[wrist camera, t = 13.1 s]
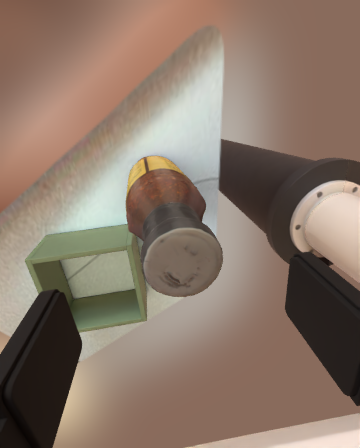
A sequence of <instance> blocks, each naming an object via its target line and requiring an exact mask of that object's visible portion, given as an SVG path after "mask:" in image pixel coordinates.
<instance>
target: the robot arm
mask: <svg viewBox="0 0 360 448" xmlns="http://www.w3.org/2000/svg"><path fill="white" fill-rule="evenodd" d="M290 236H291V240H292V242H293V243H294V245H295V246H296V247H297V248H298V249H299V250H300V251H301V252H303V253H297V254H295V255H294V257H293V258H291V259H290V266H289V275H288V285H287V294H286V303H285V310H286V313H287V315H288V317H289V318H290V320H291V321H292V322H293V324H294V325H295V326H296V328H297V329H298V331H299V332H300V334H302V336H303V338H304V339H305V340H306V342H307V343H308V345H309V346H310V347H311V349H312V350H313V352H314V353H315V354H316V356H317V357H318V359H319V360H320V361H321V363H322V364H323V366H324V367H325V368H326V370H327V371H328V373H329V374H330V375H331V377H332V378H333V380H334V381H335V382H336V384H337V385H338V387H339V388H340V389H341V391H342V392H343V393H344V394H345V395H347V396H350V397H351V399H352V400H353V401H354V403H355V404H356V405H357V406H360V291H359V290H357V289H356V288H355V287H354V286H352V285H351V284H350V283H349V282H347V281H346V280H345V279H343V278H342V277H341V276H340V275H339V274H337V273H336V272H335V271H334V270H332V269H331V268H330V267H329V266H327V265H326V264H325V263H324V262H322V261H321V260H320V259H319V258H317V257H326V258H327V259H328V260H330V261H331V262H332V263H334V264H335V265H336V266H338V267H339V268H340V269H342V270H343V271H345V272H346V273H347V274H348V275H350V276H351V277H352V278H354V279H355V280H356V281H358V282H359V283H360V186H359V185H357V184H355V183H353V182H349V181H344V180H336V181H330V182H327V183H324V184H322V185H320V186H318V187H316V188H314V189H313V190H312V191H310V192H309V193H308V194H307V195H306V196H305V197H304V198H303V199H302V200H301V201H300V203H299V204H298V205H297V207H296V209H295V211H294V213H293V215H292V218H291V222H290ZM81 350H82V340H81V337H80V335H79V332H78V329H77V326H76V324H75V321H74V318H73V315H72V313H71V310H70V307H69V304H68V301H67V299H66V296H65V294H64V292H60V291H59V290H58V289H53V290H47V291H42V292H40V293H39V295H38V296H37V298H36V299H35V301H34V303H33V304H32V306H31V307H30V309H29V310H28V312H27V313H26V315H25V317H24V318H23V320H22V321H21V323H20V324H19V326H18V327H17V329H16V331H15V332H14V334H13V335H12V337H11V338H10V340H9V342H8V343H7V345H6V346H5V348H4V349H3V351H2V352H1V354H0V448H52V447H53V444H54V441H55V437H56V434H57V431H58V427H59V424H60V420H61V417H62V414H63V410H64V407H65V404H66V400H67V397H68V394H69V390H70V387H71V383H72V380H73V377H74V373H75V370H76V367H77V363H78V360H79V357H80V353H81ZM186 448H360V413H357V414H352V415H347V416H342V417H337V418H331V419H327V420H321V421H316V422H311V423H306V424H301V425H296V426H291V427H286V428H281V429H275V430H270V431H265V432H260V433H255V434H250V435H245V436H240V437H235V438H230V439H225V440H221V441H215V442H211V443H205V444H200V445H196V446H191V447H186Z"/></svg>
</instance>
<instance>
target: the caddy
mask: <svg viewBox="0 0 360 448" xmlns="http://www.w3.org/2000/svg"><path fill="white" fill-rule="evenodd" d="M124 250H127V252H128V256H129V261H130V266H131V271H132V275H133V280H134V285H135V290H129V291H122V292H116V293H110V294H104V295H98V296H92V297H86V298H79V299H74V300H73V297H72V294H71V292H70V289H69V286H68V283H67V280H66V277H65V275H64V272H63V269H62V266H61V263H60V260H63V259H70V258H76V257H83V256H90V255H97V254H103V253H110V252H117V251H124ZM25 262H26V265H27V267H28V269H29V272H30V274H31V277H32V279H33V281H34V284H35V286H36V288H37V291H38V293H40V292H42V291H47V290H53V289H58V290H59V291H60V292H64V294H65V296H66V299H67V301H68V304H69V307H70V310H71V313H72V315H73V318H74V321H75V324H76V326H77V329H78V332H79V333H80V332H86V331H91V330H97V329H103V328H108V327H114V326H120V325H125V324H131V323H137V322H142V321H147V296H146V286H145V280H144V275H143V270H142V264H141V259H140V254H139V248H138V243H137V238H136V235H135V234H133V233H131V232H129V230H128V224H125V225H118V226H111V227H104V228H96V229H89V230H82V231H75V232H68V233H60V234H53V235H46V236H45V237H44V238H43V240H42V241H41V242H40V243H39V244H38V245H37V247H36V248H35V249H34V250H33V251H32V252H31V254H30V255H29V256H28V257H27V258H26V259H25Z"/></svg>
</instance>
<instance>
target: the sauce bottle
mask: <svg viewBox="0 0 360 448" xmlns="http://www.w3.org/2000/svg"><path fill="white" fill-rule="evenodd" d="M205 210H206V203H205V200H204V199H203V197H202V196H201V194H200V193H199V191H198V190H197V187H195V186H194V184H193V183H192V182H191V181H190V179H189V178H188V177H187V176H186V175H184V174H183V172H182V171H181V170H180V169H179V168H178V167H177V166H176V165H175V164H174V163H172V162H171V161H170V160H168V159H166V158H164V157H160V156H149V157H144V158H142V159H141V160H140V161H138V162H137V163H136V164H135V165H134V166H133V168H132V169H131V171H130V174H129V179H128V188H127V196H126V212H127V215H126V217H127V222H128V230H129V232H131V233H133V234H135V235H136V236H138V237H139V238H140V239H142V240H143V241H144V244H143V246H142V249H141V263H142V268H143V274H144V276H145V278H146V281H147V282H148V283H149V284H150V285H151V286H152V288H153V289H155V290H156V291H157V292H159V293H162V294H165V295H168V296H173V297H187V296H192V295H195V294H198V293H200V292H202V291H203V290H205V289H206V288H208V287H209V285H211V284H212V282H213V281H214V280H215V279H216V278H217V276H218V274H219V272H220V270H221V267H222V262H223V256H222V248H221V246H220V244H219V242H218V240H217V238H216V237H215V235H214V233H213V232H212V231H211V230H210V228H208V226H207V225H205V224H203V223H202V218H203V214H204V212H205Z"/></svg>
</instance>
